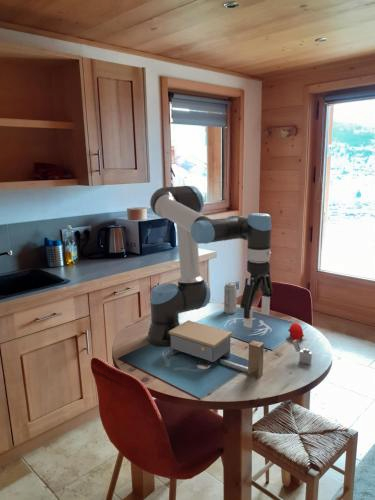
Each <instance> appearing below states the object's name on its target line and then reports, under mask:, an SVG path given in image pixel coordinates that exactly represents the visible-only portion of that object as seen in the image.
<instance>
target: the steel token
mask: <svg viewBox="0 0 375 500" xmlns="http://www.w3.org/2000/svg"><path fill="white" fill-rule="evenodd" d="M196 367H197V368H198V369H199V370H202V369H203V370H204V369H205V370H208V368H209V367H210V368H211V363H210V361H208V360H201V361H199V362H197V363H196ZM210 368H209V369H210Z"/></svg>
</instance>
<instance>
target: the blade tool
mask: <svg viewBox="0 0 375 500" xmlns="http://www.w3.org/2000/svg"><path fill="white" fill-rule="evenodd" d="M264 344H265V343H264V342H260V341H257V340H254V339H253V340H252V341H251V342H250V343H248V366H246V365H243V364H242V365H241V364H239V363H237V362H236V363H235V362H233V361H229V360H226V359H224V358H223V359H222V358H219V364H220V363H221V365H223V364H224V365H223V366H226V365H227V366H226V367H229V368H232V369H235V370H238V371H242V372H244V373H247V375H248V376H250V377H253V378H256V379H260V378H261V376H263V373H264V349H265V348H264V346H265V345H264Z"/></svg>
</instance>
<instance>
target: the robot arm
mask: <svg viewBox="0 0 375 500" xmlns="http://www.w3.org/2000/svg"><path fill="white" fill-rule="evenodd" d="M204 202H205V201H204V197H203V193H202V191H200V188H198V187H197V186H194V185H180V186H163V187H160V188H158V189H156V190H155V191H154V192H153V193H152V195H151V196H150V201H149V205H150V208H151V211H152V213H154V214H155V215H156V216H157V217H159V218H161V219H167V220H169V221H171V222H172V223H174V224H176V236H177V247H178V258H179V270H180V271H179V272H180V276H179V278H178V279H177V284H176V283H171V282H168V283H161V284H158V285H156V286H154V287H153V288H152V290H151V291H150V298H149V301H150V319H151V322H150V327H149V329H148V332H147V341H148V342H149V343H150V344H152V345H155V346H159V347H169V346H170V347H171V334H169V331H170V330H172V329H174V328H175V327H177V326H179V325H181V324H180V321H179V315H180V314H183V313H186V312H191V311H194V310H196V311H197V310H200V309H202V308H205V307H206V306H207V305H208V304H209V303H210V300H211V293H212V292H211V288H210V286H209V284H208V282H207V281H205V278H204V277H203V276H202V275H201V269H200V268H201V267H200V257H199V255H200V254H199V244H201V245H202V244H205V245H207V244H210V243H217V242H222V241H223V242H225V241H231V240H237V239H238V240H244V241H247V249H246V250H247V252H246V253H247V254H246V259H247V261H246V270H247V272H248V273H249V274H250V277H249V278H247V277H246V278H245V284H244V289H243V292H242V293H243V294H242V296H241V297H242V298H241V302H240V306H239V308H240V309H242V310H243V327H245V328H249V329H252V328H253V308H252V306H253V303H254V301H255V297H256V295H257V292H259V290H260V291H261V293H262V294H263V295H262V296H261V314H262V315H267V316H269V315H270V304H271V298H272V297H273V296H274V294H273V293H274V288H273V285H272V284H273V283H272V280H271V261H270V260H271V256H272V251H271V246H272V245H271V244H272V243H271V241H272V229H273V226H272V217H271V215H270V214H268V213H263V212H262V213H261V212H260V213H259V212H256V213H255V212H254V213H250V214H249V215H248V216H247V217H244V216H240V215H229V216H228V217H225V218H215V219H211V218H209V217H208V216H205V215H204V214H202V213H201V212H202V210H203V209H204V206H205V203H204Z"/></svg>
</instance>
